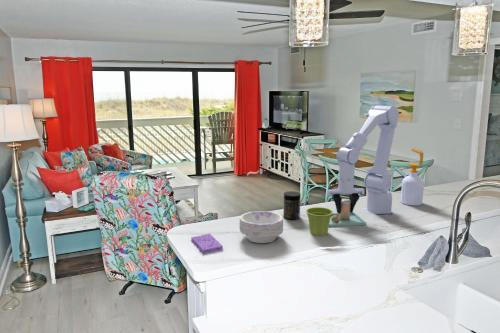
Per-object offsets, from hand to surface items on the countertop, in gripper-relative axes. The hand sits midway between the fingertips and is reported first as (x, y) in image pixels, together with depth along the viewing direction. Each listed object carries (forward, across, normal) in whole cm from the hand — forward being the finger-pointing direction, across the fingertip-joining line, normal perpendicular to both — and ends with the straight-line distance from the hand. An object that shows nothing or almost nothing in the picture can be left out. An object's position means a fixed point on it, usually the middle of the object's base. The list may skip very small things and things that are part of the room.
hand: (344, 212), depth 152 cm
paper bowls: (+4, +35, +13) cm, 38 cm away
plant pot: (+4, +14, +12) cm, 19 cm away
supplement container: (+4, +20, -5) cm, 21 cm away
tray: (+3, +2, +1) cm, 4 cm away
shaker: (+2, 0, 0) cm, 3 cm away
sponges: (+4, +54, +16) cm, 57 cm away
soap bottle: (+4, -38, -18) cm, 42 cm away
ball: (+3, +5, +4) cm, 7 cm away
